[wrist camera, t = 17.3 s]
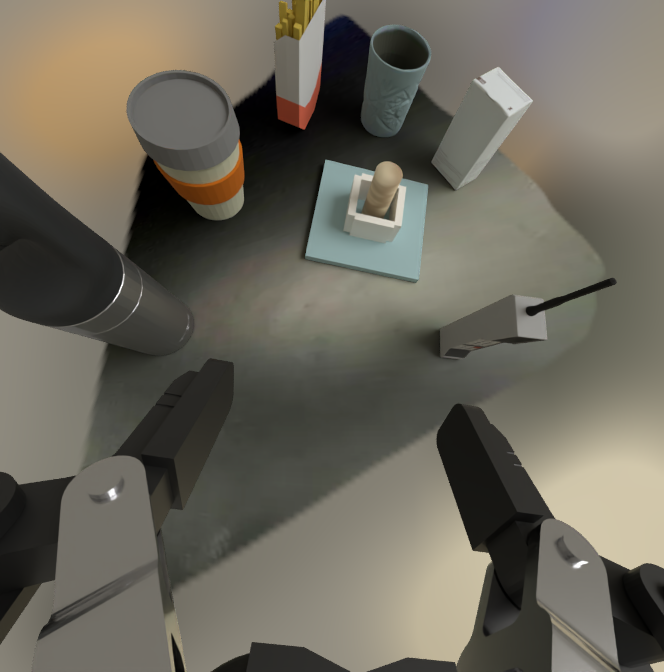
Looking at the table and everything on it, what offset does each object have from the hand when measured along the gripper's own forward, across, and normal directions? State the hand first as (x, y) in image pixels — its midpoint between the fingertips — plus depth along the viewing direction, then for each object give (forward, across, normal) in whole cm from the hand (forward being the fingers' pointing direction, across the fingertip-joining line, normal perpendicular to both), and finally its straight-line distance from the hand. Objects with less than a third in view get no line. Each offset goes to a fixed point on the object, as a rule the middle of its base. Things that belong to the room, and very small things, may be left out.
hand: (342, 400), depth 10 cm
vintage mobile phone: (+32, -22, +14) cm, 42 cm away
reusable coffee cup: (+45, +22, +2) cm, 50 cm away
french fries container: (+60, +12, -14) cm, 63 cm away
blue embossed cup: (+63, -4, -17) cm, 66 cm away
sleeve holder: (+46, -5, 0) cm, 46 cm away
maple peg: (+45, -5, -1) cm, 46 cm away
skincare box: (+58, -20, -11) cm, 62 cm away
